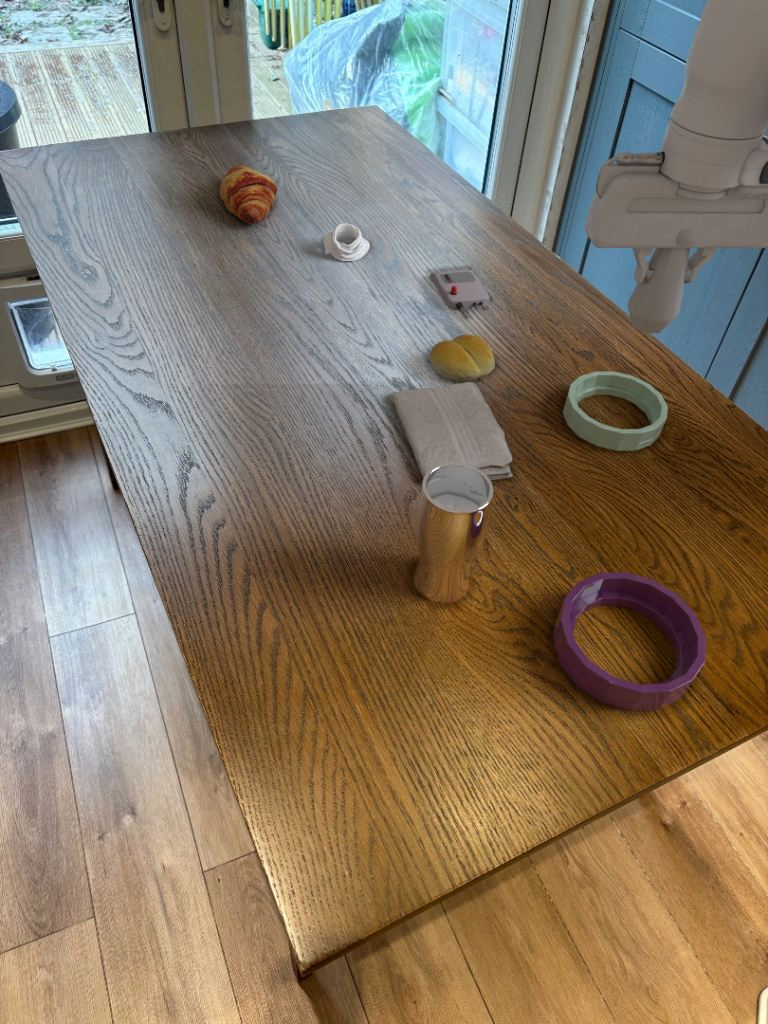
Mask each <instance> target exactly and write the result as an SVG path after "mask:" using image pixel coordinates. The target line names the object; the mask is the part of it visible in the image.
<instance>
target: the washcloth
mask: <svg viewBox="0 0 768 1024" xmlns="http://www.w3.org/2000/svg"><path fill="white" fill-rule="evenodd" d="M389 401H390V402H391V403H392V405H393V406H394V407H395V412H396V414H397V416H398V419H399V422H400V423H401V427H402V429H403V430H404V435H405V437H406V439H407V441H408V444H409V446H410V447H411V450H412V452H413V456H414V458H415V461H416V464H417V466H418V469H419V472H420V475H421V476H422V478H423V479H424V477H425V475H426V474H427V472H428V471H429V470H431V469H432V468H434V467H435V466H438V465H440V464H444V463H452V462H456V463H464V464H468V465H471V466H474V467H476V468H478V469H479V470H481V471H482V472H484V473H485V474H486V475H487V476H488V478H489V479H490V480H491V481H494V480H502V479H509V478H512V477H513V473H512V471H511V468H510V463H512V461H513V456H512V452H511V451H510V448H509V447H508V444H507V440H506V437H505V432H504V430H503V429H502V428H501V426H500V425H499V423H498V421H497V419H496V418H495V416H494V414H493V411H492V410H491V408H490V406H489V404H488V403H487V402H486V400H485V399H484V397H483V394H482V393H481V391H480V389H479V387H478V386H477V385H476V384H475V383H474V381H470V382H458V383H454V384H448V385H446V386H442V387H436V388H432V389H428V388H417V389H408V390H402V391H401V390H400V391H394V392H392V393H391V395H390V398H389Z"/></svg>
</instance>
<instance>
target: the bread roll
mask: <svg viewBox="0 0 768 1024" xmlns="http://www.w3.org/2000/svg"><path fill="white" fill-rule="evenodd" d="M429 364H430V367H431V369H432V371H433V372H434V373H435V374H437V375H438V376H440V377H441V378H444V379H446V380H450V381H453V382H458V383H465V382H474V381H477V380H478V379H479V378H485V377H486V376H488V375H489V374H490V373H492V371H493V370H494V369H495V366H496V365H495V355H494V352H493V350H492V349H491V347H490V345H489V344H488V343H487V342H486V341H485V340H484V339H482V338H481V337H479V336H478V335H474V334H461V335H459V336H456V337H455V338H453V339H452V340H443V341H442V340H441V341H439V342H437V343H436V344H435V345H434V346H433V347H432V349H431V350H430V353H429Z"/></svg>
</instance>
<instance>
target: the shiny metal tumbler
mask: <svg viewBox="0 0 768 1024" xmlns="http://www.w3.org/2000/svg"><path fill="white" fill-rule="evenodd" d="M493 498H494V485H493V483H492V480H490V479H489V478H488V476H487V475H486V474H485V473H484V472H482V471H481V470H479V469H478V468H476V467H474V466H471V465H468V464H464V463H456V462H452V463H444V464H440V465H438V466H435V467H434V468H432V469H431V470H429V471H428V472H427V474H426V475H425V477H424V478H423V479H422V485H421V488H420V493H419V497H418V500H417V507H416V512H415V538H416V546H417V554H418V563H417V567H416V569H415V571H414V573H413V584H414V586H415V588H416V591H418V593H420V594H421V596H423V597H424V598H425V599H427V600H429V601H432V602H435V603H446V604H447V603H448V604H449V603H453V602H456V601H459V600H460V599H462V598H463V597H464V596H465V595H466V594H467V593H468V591H469V587H470V570H471V567H472V566H473V563H474V561H475V559H476V557H477V555H478V554H479V552H480V551H481V550H480V549H482V546H483V543H484V542H485V539H486V536H487V533H488V528H489V524H490V521H491V515H492V505H493Z"/></svg>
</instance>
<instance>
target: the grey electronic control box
mask: <svg viewBox="0 0 768 1024" xmlns="http://www.w3.org/2000/svg"><path fill="white" fill-rule="evenodd" d="M429 278H430V280H431V279H432V280H431V281H432V283H433V285H434V284H435V285H434V286H435V288H436V290H437V289H438V290H437V292H438V291H439V292H438V293H439V295H440V296H442V297H441V298H442V299H443V302H444V301H445V302H444V303H445V305H446V307H447V306H448V307H447V309H448V310H450V309H453V310H452V311H459V312H460V313H461V314H462V315H463V316H464V319H467V320H468V315H467V314H466V310H464V309H471V310H473V309H472V308H478V309H482V310H484V311H485V310H486V307H488V306H489V302H490V295H489V293H488V292H487V289H485V288H484V286H483V284H482V283H481V282H480V280H479V279H478V277H477V276H476V274H475V272H474V271H473V270H472V269H455V270H444V271H434V272H430V276H429ZM487 305H488V306H487ZM485 306H486V307H485ZM480 307H482V308H480Z"/></svg>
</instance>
